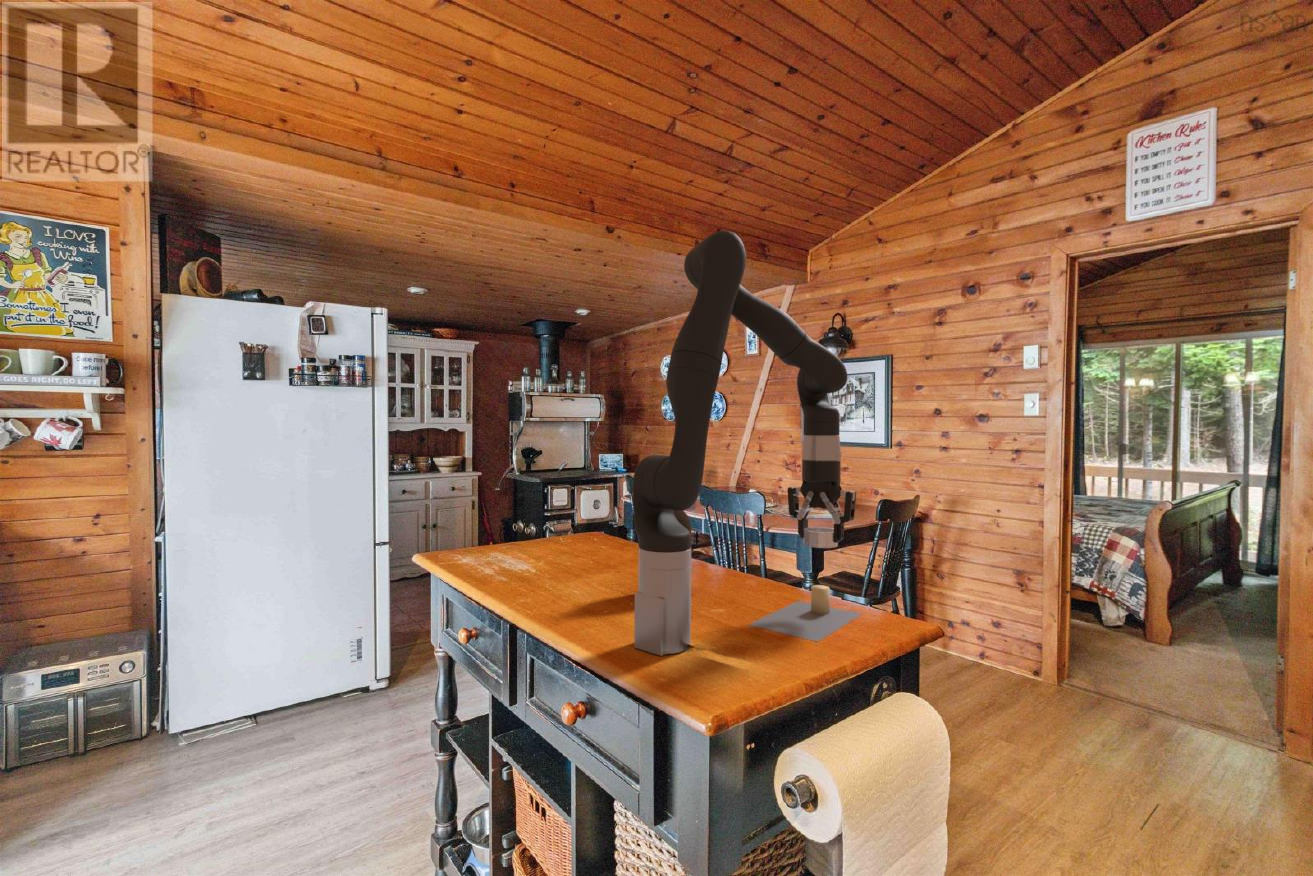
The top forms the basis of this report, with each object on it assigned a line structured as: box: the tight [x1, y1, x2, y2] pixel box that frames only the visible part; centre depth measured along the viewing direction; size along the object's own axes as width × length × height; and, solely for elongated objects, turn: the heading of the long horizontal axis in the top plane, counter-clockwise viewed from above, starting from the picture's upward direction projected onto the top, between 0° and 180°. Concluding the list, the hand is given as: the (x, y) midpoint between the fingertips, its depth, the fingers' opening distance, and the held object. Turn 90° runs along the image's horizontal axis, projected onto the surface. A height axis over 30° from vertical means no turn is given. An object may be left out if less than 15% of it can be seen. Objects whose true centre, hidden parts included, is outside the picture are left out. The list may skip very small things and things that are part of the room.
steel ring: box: [803, 526, 839, 549], centre depth 122 cm, size 7×7×3 cm
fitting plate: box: [747, 584, 863, 643], centre depth 118 cm, size 21×14×6 cm, turn 140°
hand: (820, 539), depth 122 cm, fingers closed on steel ring, 6 cm apart
